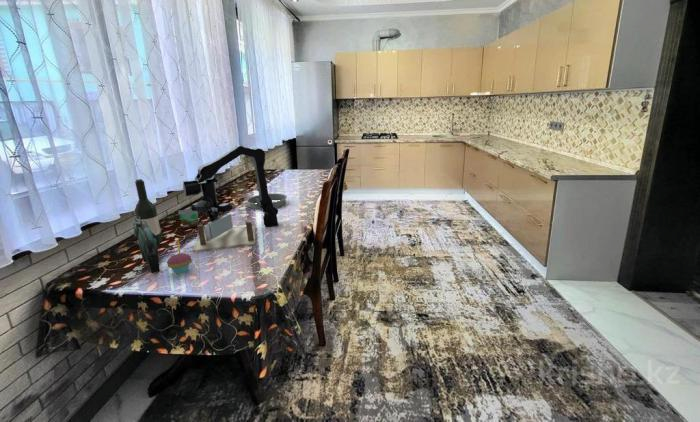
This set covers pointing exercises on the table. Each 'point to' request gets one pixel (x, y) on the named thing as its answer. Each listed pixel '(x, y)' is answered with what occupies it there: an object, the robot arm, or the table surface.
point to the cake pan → (273, 197)
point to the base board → (227, 240)
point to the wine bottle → (147, 210)
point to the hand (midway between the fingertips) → (214, 224)
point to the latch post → (249, 230)
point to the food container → (188, 217)
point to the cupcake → (179, 262)
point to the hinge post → (201, 234)
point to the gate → (218, 227)
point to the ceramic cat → (147, 244)
